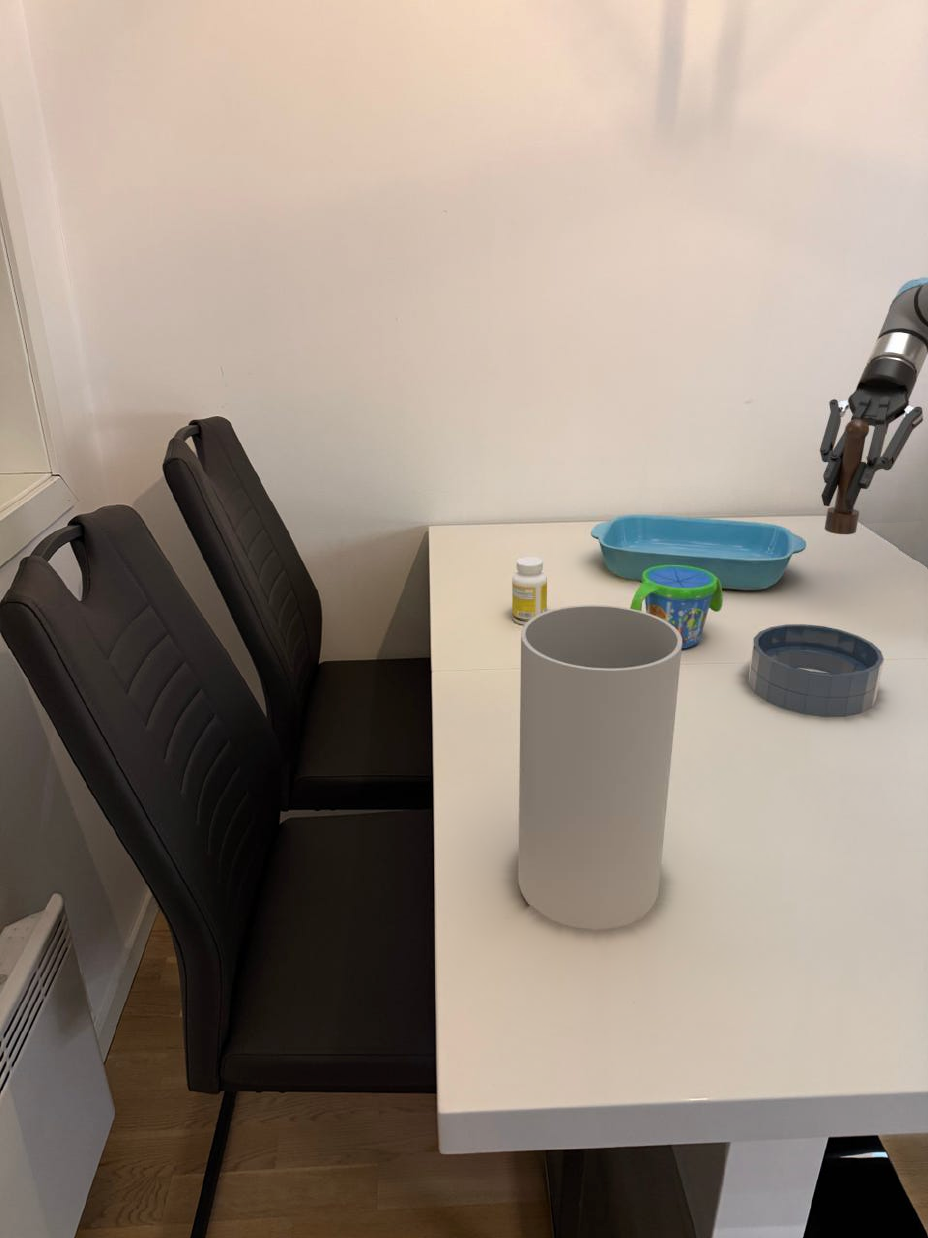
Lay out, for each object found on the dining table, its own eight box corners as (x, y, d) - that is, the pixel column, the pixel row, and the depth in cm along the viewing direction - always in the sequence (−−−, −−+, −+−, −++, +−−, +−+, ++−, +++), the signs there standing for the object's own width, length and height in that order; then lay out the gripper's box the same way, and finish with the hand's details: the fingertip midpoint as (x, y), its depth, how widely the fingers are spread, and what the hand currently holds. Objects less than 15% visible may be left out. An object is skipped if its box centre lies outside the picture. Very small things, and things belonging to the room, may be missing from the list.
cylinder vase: (645, 843, 81) (666, 604, 71) (669, 939, 70) (697, 670, 60) (516, 841, 82) (519, 605, 72) (519, 936, 70) (523, 670, 61)
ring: (885, 685, 110) (894, 640, 107) (858, 736, 99) (868, 687, 96) (768, 658, 118) (774, 615, 116) (731, 701, 107) (737, 655, 104)
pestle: (859, 528, 127) (878, 417, 120) (852, 536, 124) (872, 422, 117) (828, 524, 129) (846, 415, 123) (821, 531, 126) (838, 419, 120)
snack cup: (697, 619, 131) (703, 557, 127) (740, 645, 122) (748, 580, 118) (609, 635, 126) (613, 571, 122) (646, 663, 117) (651, 595, 113)
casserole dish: (578, 581, 147) (580, 542, 145) (601, 543, 167) (603, 508, 164) (802, 604, 136) (808, 562, 133) (799, 561, 156) (804, 523, 153)
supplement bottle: (536, 610, 136) (537, 553, 132) (552, 622, 131) (554, 563, 127) (506, 616, 134) (506, 558, 130) (521, 628, 129) (522, 568, 125)
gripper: (949, 392, 125) (896, 525, 120) (840, 384, 134) (787, 507, 129) (947, 358, 119) (892, 497, 114) (834, 352, 129) (778, 480, 124)
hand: (836, 502), depth 122 cm, fingers closed on pestle, 3 cm apart
